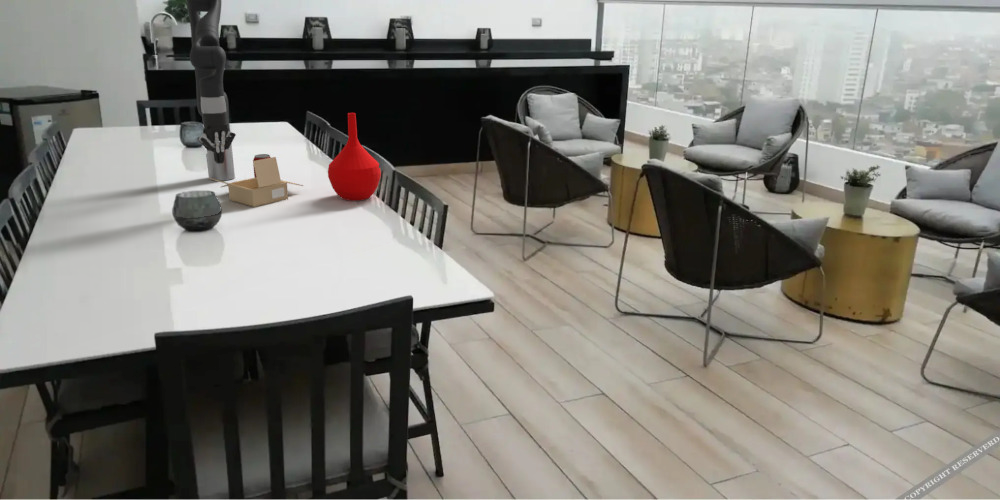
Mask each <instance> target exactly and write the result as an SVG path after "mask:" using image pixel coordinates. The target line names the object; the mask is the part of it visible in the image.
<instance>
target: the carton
mask: <svg viewBox="0 0 1000 500" xmlns="http://www.w3.org/2000/svg"><path fill="white" fill-rule="evenodd" d="M229 183H230V184H233V185H236V186H240V187H243V188H247V189H243V188H239V187H236V186H232V185H228V184H225V185H221V186H219V187H220V188H221V189H222V188H225V187H227V190H228V197H229V201H232V202H234V203H237V204H242V205H245V206H249V207H252V208H258V207H261V206H266V205H271V204H274V203H278V202H282V200H283V201H287V200H289V193H288V192H289V191H288V184H291V185H296V186H300V187H304V185H303V184H299V183H295V182H291V181H288V180H283V179H281V183H277V184H273V185H268V186H264V187H258V182H257V178H255V177H251V178H248V179H247V178H245V179H241V180H236V181H232V182H229ZM286 199H287V200H286Z"/></svg>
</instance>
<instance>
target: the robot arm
mask: <svg viewBox="0 0 1000 500" xmlns="http://www.w3.org/2000/svg"><path fill="white" fill-rule="evenodd" d="M185 1H186V6H187V13H188V18H189V19H188V20H189V26H190V34H191V49H190V52H189V61H190V64H191V65H192V67H194V74H195V88H196V93H195V94H196V107H197V111H198V114H199V115H200V116H201V118H202V125H203V131H202V134H201V136H198V137H197V141H198V142H199V143H200V144H201V145H202V146H203V147H204V148H205V149H206V154H205V157H206V158H205V159H206V164H207V165H206V166H207V173H208V175H207V176H208V178H212V179H215V180H219V181H223V182H224V181H231V180H233V179H235V178H236V176H235V175H236V174H235V164H234V157H233V156H234V155H233V153H234V152H233V145H232V143H233V141H234V140H235V137H236V136H237V135H236V133H235V132H232V131H231V128H230V118H229V116H230V114H229V100H228V95H227V93H226V92H225V90H224V82H223V81H224V74H225V73H224V72H225V67H226V62H227V55H226V51H225V50H224V49H223V47H221V46H220V36H219V34H220V32H219V29H220V28H219V26H220V21H221V12H222V0H185ZM200 12H204V13H205V14H204V15H203V16H202V17H201V15H200ZM215 180H214V181H215Z"/></svg>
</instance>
